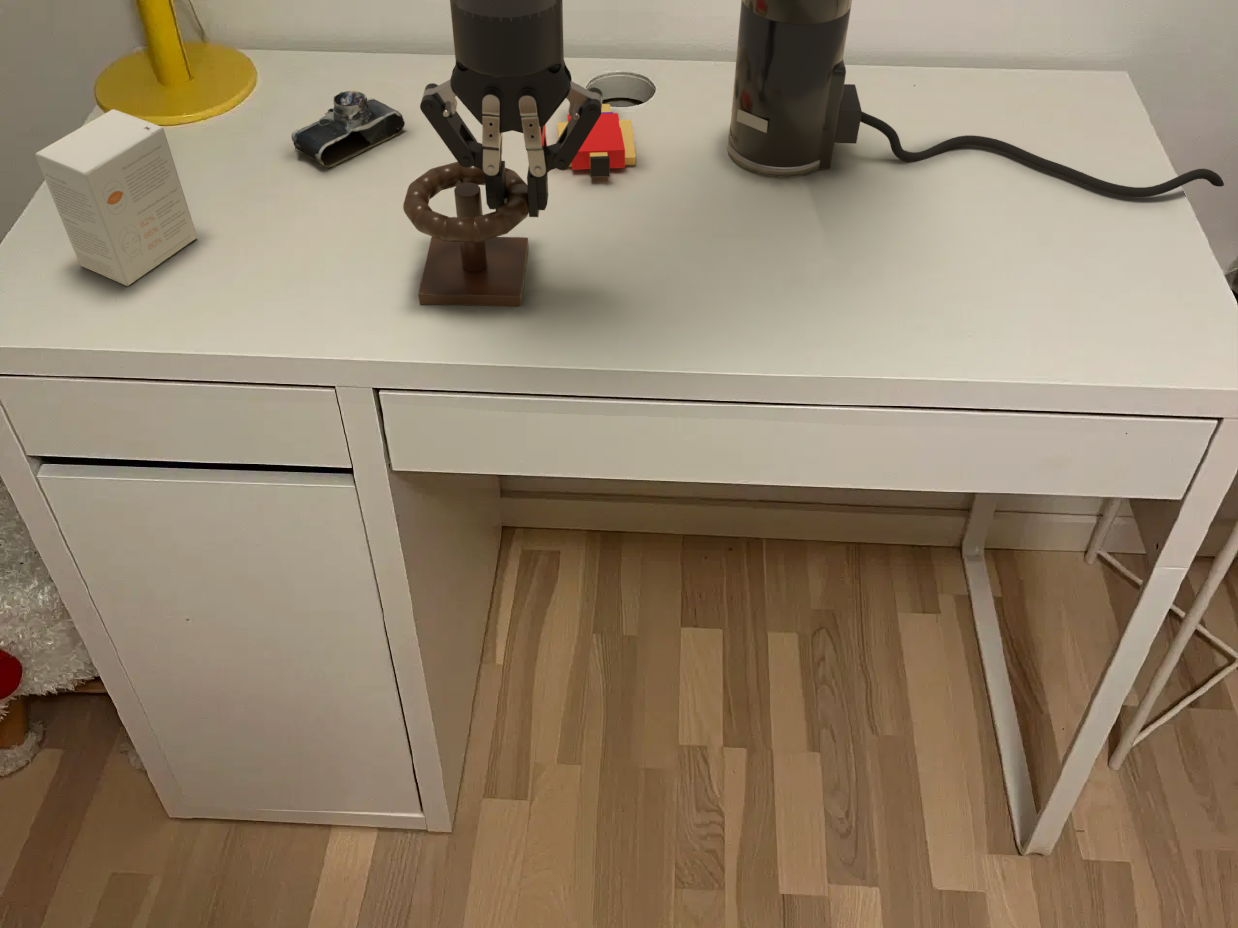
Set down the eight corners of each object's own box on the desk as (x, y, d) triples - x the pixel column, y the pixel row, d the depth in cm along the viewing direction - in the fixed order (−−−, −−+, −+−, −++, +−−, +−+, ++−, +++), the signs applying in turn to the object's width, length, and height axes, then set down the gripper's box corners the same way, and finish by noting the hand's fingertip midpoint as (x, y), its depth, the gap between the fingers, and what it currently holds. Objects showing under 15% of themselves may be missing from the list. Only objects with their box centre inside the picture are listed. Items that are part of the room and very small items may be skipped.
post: (528, 247, 96) (523, 162, 90) (520, 306, 90) (515, 220, 85) (433, 245, 96) (422, 160, 90) (419, 304, 90) (406, 218, 85)
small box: (151, 219, 98) (114, 106, 91) (199, 239, 96) (165, 125, 89) (77, 267, 93) (31, 152, 86) (127, 289, 91) (83, 172, 84)
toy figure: (555, 98, 110) (561, 157, 101) (626, 95, 110) (638, 154, 101) (556, 122, 111) (562, 183, 102) (626, 120, 112) (638, 180, 103)
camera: (286, 152, 106) (277, 110, 103) (375, 112, 111) (369, 71, 108) (320, 172, 103) (312, 130, 100) (409, 130, 109) (403, 89, 106)
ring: (535, 178, 92) (534, 158, 91) (525, 248, 85) (524, 227, 84) (416, 176, 92) (413, 156, 91) (397, 245, 86) (393, 225, 84)
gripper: (392, 10, 74) (422, 237, 86) (607, 15, 74) (606, 241, 86) (410, -38, 79) (436, 182, 91) (610, -33, 79) (609, 187, 91)
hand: (518, 210), depth 89 cm, fingers closed on ring, 2 cm apart
